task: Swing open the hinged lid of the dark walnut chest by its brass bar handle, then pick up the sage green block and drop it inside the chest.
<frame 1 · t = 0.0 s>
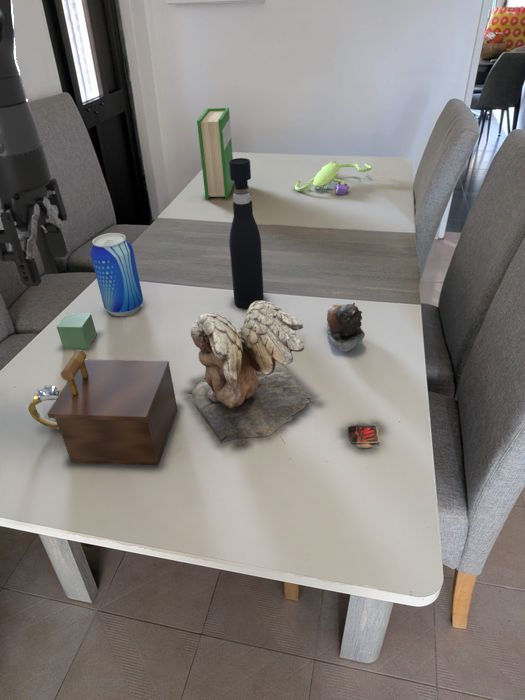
hand: (47, 269, 70), 26 cm above the table, tool pointing down, fingers open, 8 cm apart
matchbox: (363, 437, 78), on the table
figurine: (334, 184, 175), on the table
lid: (108, 375, 74), point 12 cm above the table, hinge at 0.0°
beer can: (125, 308, 113), on the table
block: (80, 341, 103), on the table
chest: (127, 433, 81), on the table
black bottle: (249, 302, 112), on the table
ring: (60, 428, 82), on the table
cherub figurine: (251, 400, 86), on the table
hardback book: (220, 190, 175), on the table
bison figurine: (344, 340, 99), on the table
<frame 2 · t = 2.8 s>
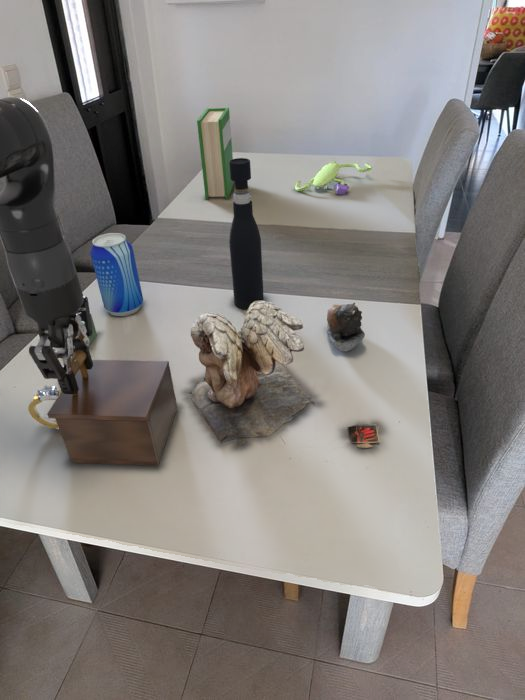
hand: (78, 379, 75), 11 cm above the table, tool pointing down, fingers closed on lid, 5 cm apart
lid: (108, 375, 74), point 12 cm above the table, hinge at 0.0°, touching gripper
everything else where it was.
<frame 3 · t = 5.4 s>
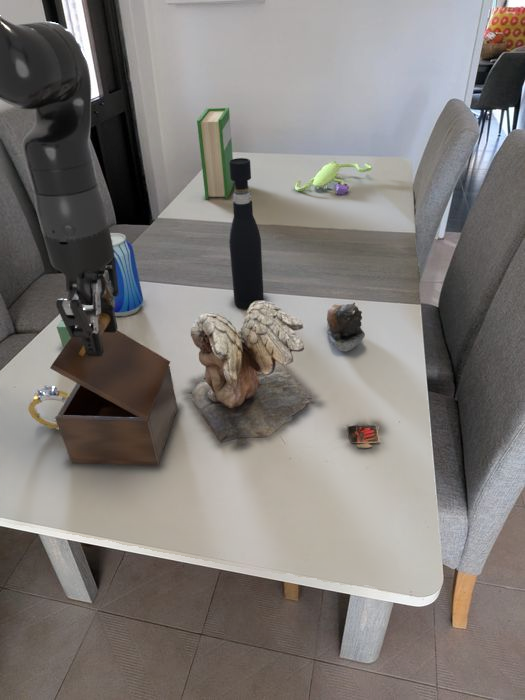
hand: (102, 342, 70), 17 cm above the table, tool pointing down, fingers closed on lid, 5 cm apart
lid: (122, 354, 71), point 15 cm above the table, hinge at 38.2°, touching gripper
everything else where it was.
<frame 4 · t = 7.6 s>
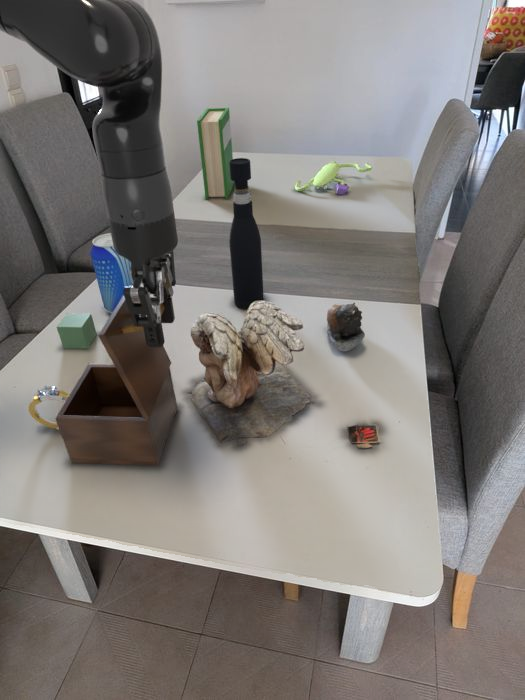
hand: (161, 332, 69), 19 cm above the table, tool pointing down, fingers closed on lid, 5 cm apart
lid: (154, 347, 70), point 17 cm above the table, hinge at 76.6°, touching gripper
everything else where it was.
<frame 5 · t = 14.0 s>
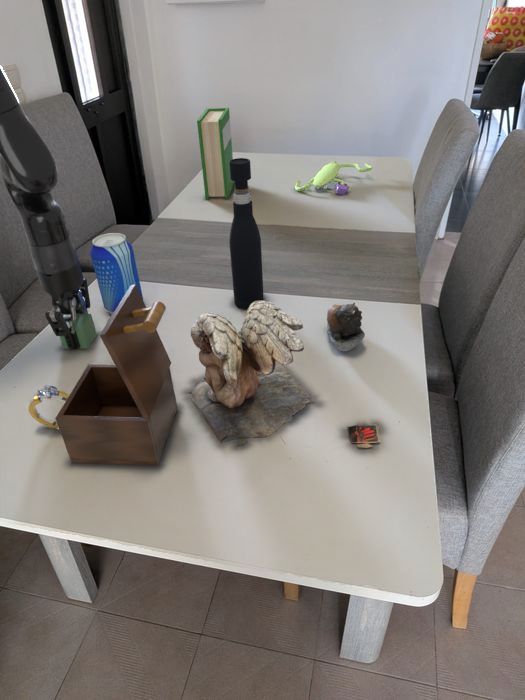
hand: (80, 339, 102), 0 cm above the table, tool pointing down, fingers closed on block, 5 cm apart
lid: (155, 347, 70), point 17 cm above the table, hinge at 77.4°
block: (80, 341, 103), on the table, touching gripper
everything else where it was.
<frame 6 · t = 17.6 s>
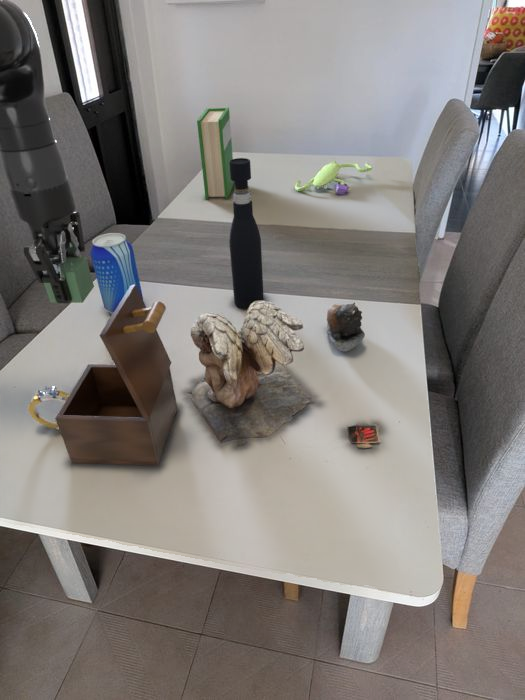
hand: (71, 292, 78), 20 cm above the table, tool pointing down, fingers closed on block, 5 cm apart
block: (72, 294, 78), point 19 cm above the table, touching gripper
everything else where it was.
when the fingers open (9 cm above the table, at t = 21.4 s): block drops 8 cm, resting on chest.
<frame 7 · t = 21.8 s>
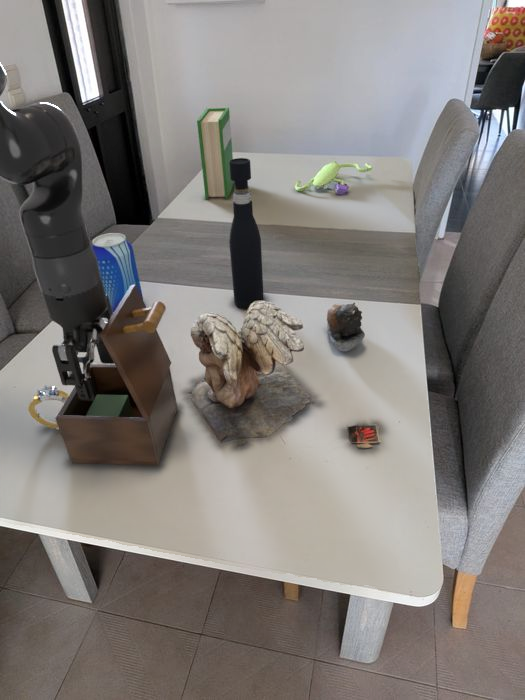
hand: (99, 379, 75), 11 cm above the table, tool pointing down, fingers open, 8 cm apart
block: (114, 429, 80), point 1 cm above the table, touching chest
everything else where it was.
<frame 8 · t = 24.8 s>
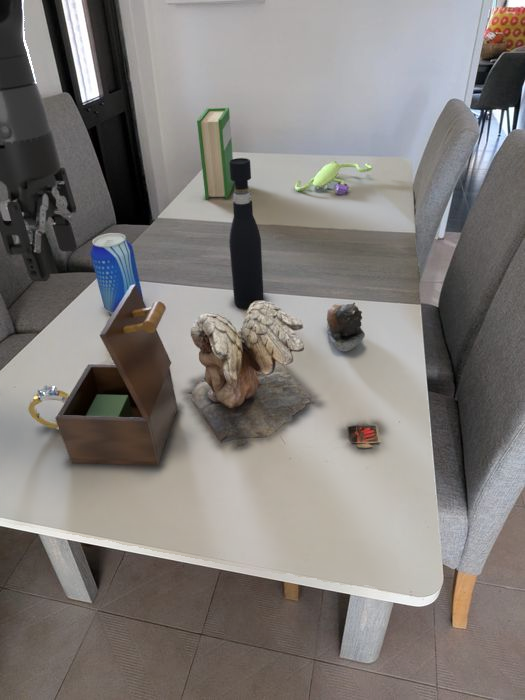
hand: (55, 264, 66), 28 cm above the table, tool pointing down, fingers open, 8 cm apart
nothing on the table moved.
at the end: lid at +77° (first picture: +0°); block inside the target area in the chest (2.0 cm from its centre), point 0.8 cm above the chest's base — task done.
